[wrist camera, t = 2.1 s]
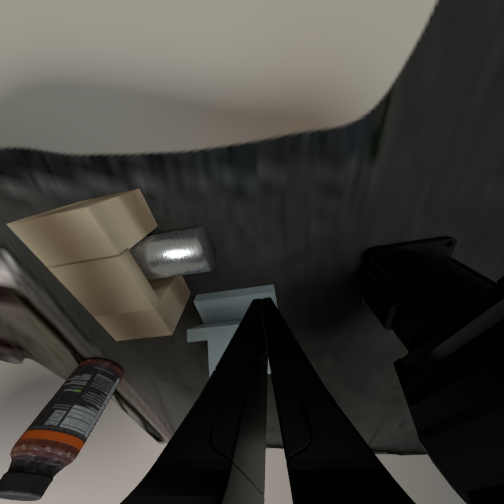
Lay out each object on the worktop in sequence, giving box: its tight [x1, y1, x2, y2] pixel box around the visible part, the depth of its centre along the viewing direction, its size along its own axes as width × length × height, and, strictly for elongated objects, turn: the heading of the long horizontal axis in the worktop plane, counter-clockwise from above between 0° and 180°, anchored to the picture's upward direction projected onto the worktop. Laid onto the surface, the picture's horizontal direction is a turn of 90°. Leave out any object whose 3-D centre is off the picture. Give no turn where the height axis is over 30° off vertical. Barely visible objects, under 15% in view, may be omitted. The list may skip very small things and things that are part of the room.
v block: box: [187, 284, 278, 377], centre depth 18 cm, size 8×9×4 cm
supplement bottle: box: [0, 358, 123, 501], centre depth 21 cm, size 6×6×11 cm
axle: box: [129, 226, 216, 280], centre depth 14 cm, size 11×4×4 cm, turn 101°
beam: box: [7, 189, 191, 341], centre depth 14 cm, size 5×10×5 cm, turn 11°
